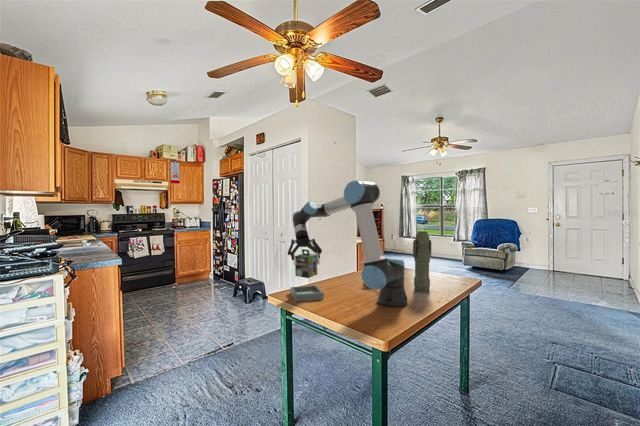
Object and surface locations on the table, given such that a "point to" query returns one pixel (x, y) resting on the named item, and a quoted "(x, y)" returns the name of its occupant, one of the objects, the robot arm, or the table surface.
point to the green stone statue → (422, 261)
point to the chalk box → (306, 264)
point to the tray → (306, 293)
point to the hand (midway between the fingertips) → (307, 263)
